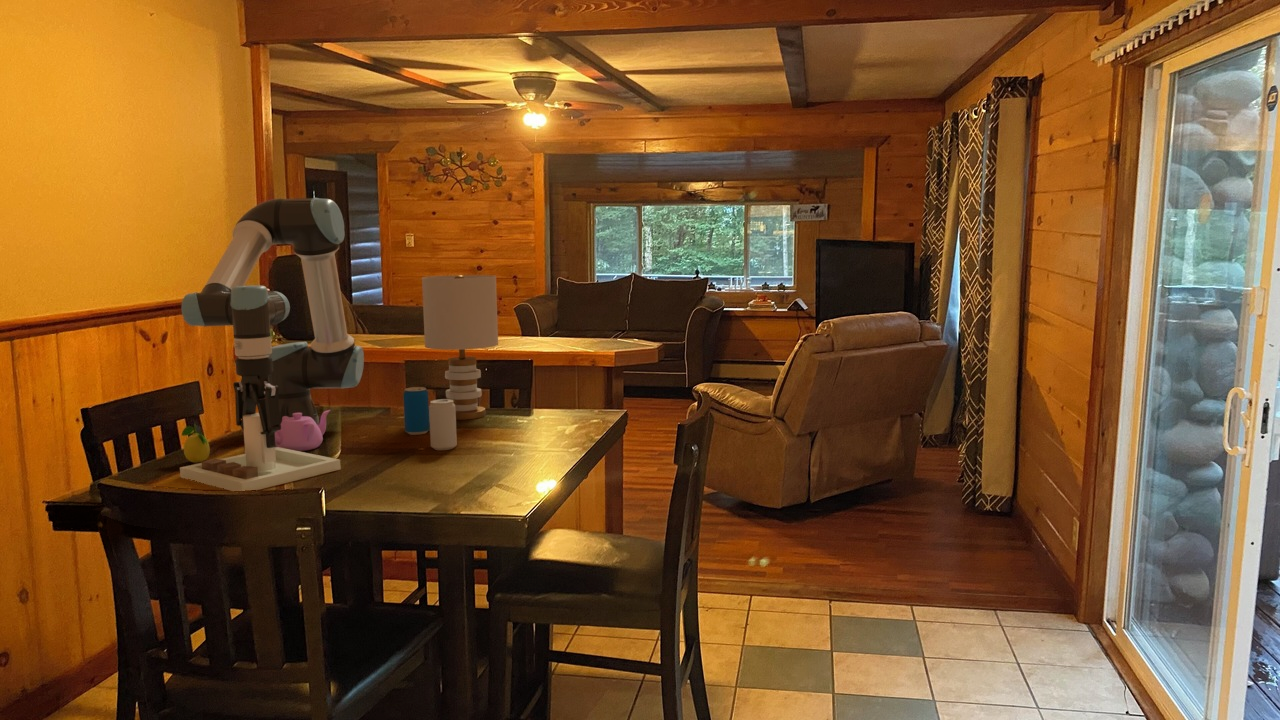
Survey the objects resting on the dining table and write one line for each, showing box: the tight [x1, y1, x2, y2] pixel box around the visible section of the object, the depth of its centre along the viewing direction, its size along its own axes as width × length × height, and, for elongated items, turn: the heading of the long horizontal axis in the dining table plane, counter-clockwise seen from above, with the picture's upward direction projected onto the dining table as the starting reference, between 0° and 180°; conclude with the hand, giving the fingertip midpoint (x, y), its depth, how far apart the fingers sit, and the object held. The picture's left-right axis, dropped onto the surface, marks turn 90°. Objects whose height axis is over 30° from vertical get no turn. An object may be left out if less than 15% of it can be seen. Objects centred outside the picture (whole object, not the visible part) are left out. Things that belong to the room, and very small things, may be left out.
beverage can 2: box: [429, 398, 458, 451], centre depth 239 cm, size 6×6×12 cm
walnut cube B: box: [217, 462, 241, 476], centre depth 208 cm, size 4×4×4 cm
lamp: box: [421, 274, 499, 421], centre depth 280 cm, size 21×21×41 cm
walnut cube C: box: [232, 466, 258, 480], centre depth 204 cm, size 4×4×4 cm
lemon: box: [181, 423, 211, 464], centre depth 225 cm, size 7×6×10 cm
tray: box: [179, 446, 342, 492], centre depth 214 cm, size 24×24×3 cm
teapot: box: [275, 409, 331, 452], centre depth 243 cm, size 12×14×9 cm
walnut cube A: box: [200, 458, 226, 473], centre depth 211 cm, size 4×4×4 cm
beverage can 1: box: [403, 386, 430, 436], centre depth 258 cm, size 6×6×12 cm
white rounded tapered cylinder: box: [243, 412, 276, 472], centre depth 213 cm, size 6×6×12 cm
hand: (260, 459), depth 214 cm, fingers closed on white rounded tapered cylinder, 6 cm apart
